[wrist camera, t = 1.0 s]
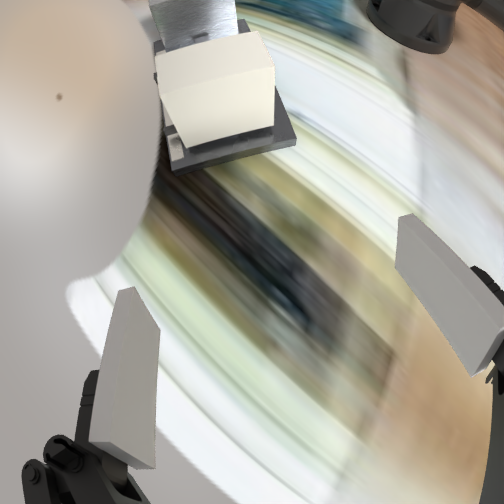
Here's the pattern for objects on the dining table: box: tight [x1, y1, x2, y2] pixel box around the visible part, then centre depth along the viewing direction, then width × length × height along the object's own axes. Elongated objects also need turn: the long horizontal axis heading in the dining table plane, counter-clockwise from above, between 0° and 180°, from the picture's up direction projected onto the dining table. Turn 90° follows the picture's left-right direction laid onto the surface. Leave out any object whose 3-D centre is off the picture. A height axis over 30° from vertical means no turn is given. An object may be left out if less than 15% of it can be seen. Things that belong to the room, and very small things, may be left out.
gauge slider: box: [154, 31, 275, 148], centre depth 25 cm, size 5×11×9 cm, turn 105°
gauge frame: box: [149, 0, 297, 176], centre depth 28 cm, size 22×13×10 cm, turn 15°
